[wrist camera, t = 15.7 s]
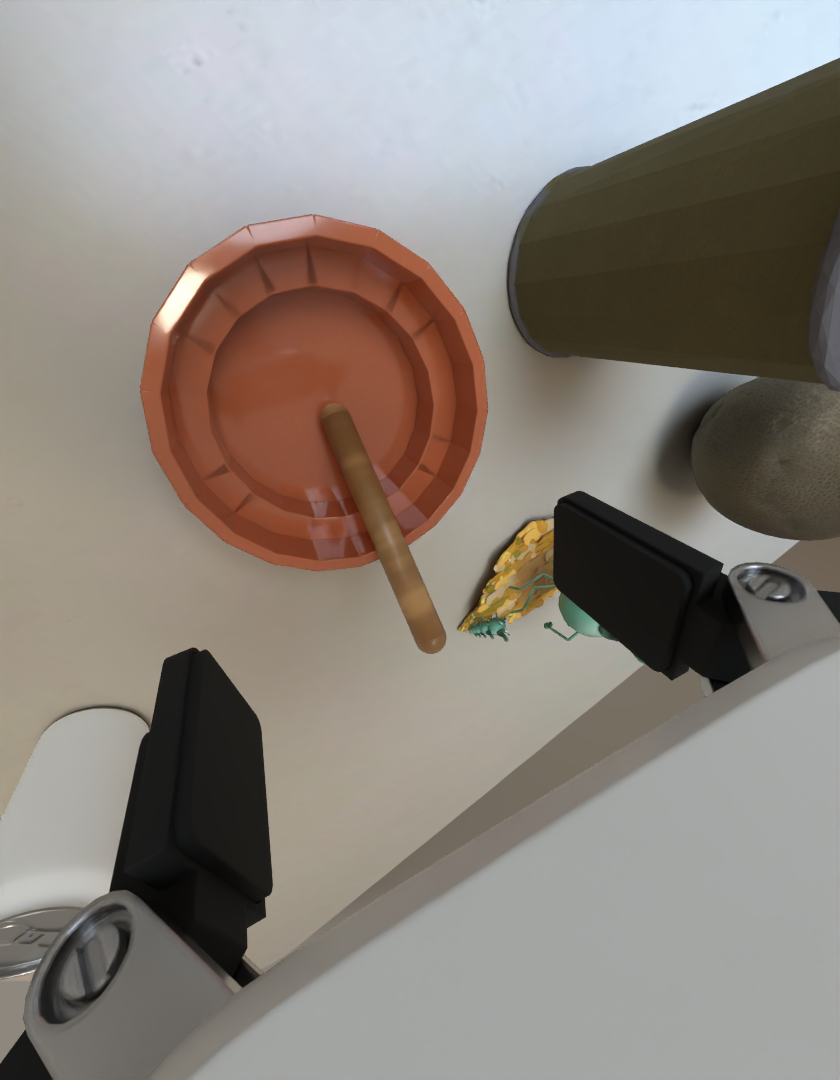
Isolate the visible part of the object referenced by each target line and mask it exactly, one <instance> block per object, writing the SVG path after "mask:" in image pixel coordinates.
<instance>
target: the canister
mask: <svg viewBox="0 0 840 1080" xmlns="http://www.w3.org/2000/svg"><path fill="white" fill-rule="evenodd" d="M509 298H510V306H511V311H512V313H513V316H514V318H515V321H516V324H517V326H518V328H519V329H520V331H521V332H522V334H523V335H524V337H525V338H526V340H527V342H528V343H529V344H530V345H531V346H533V347H534V348H535V349H537V350H538V351H540V352H541V353H543V354H545V355H547V356H552V357H569V356H581V357H590V358H598V359H607V360H616V361H625V362H634V363H643V364H651V365H660V366H669V367H678V368H687V369H695V370H704V371H713V372H722V373H731V374H739V375H748V376H757V377H766V378H775V379H784V380H792V381H801V382H810V383H819V384H825V385H826V386H827V387H828V388H829V390H832V391H837V392H840V58H838V59H836V60H834V61H831V62H829V63H827V64H825V65H822V66H820V67H818V68H815V69H813V70H811V71H808V72H806V73H804V74H802V75H799V76H797V77H795V78H792V79H790V80H788V81H786V82H783V83H781V84H779V85H776V86H774V87H772V88H769V89H767V90H765V91H763V92H760V93H758V94H756V95H753V96H751V97H749V98H747V99H744V100H742V101H740V102H737V103H735V104H733V105H730V106H728V107H726V108H724V109H721V110H719V111H717V112H714V113H712V114H710V115H708V116H705V117H703V118H701V119H698V120H696V121H694V122H691V123H689V124H687V125H685V126H682V127H680V128H678V129H675V130H673V131H671V132H669V133H666V134H664V135H662V136H659V137H657V138H655V139H652V140H650V141H648V142H646V143H643V144H641V145H639V146H636V147H634V148H632V149H629V150H627V151H625V152H623V153H620V154H618V155H616V156H613V157H611V158H609V159H607V160H604V161H602V162H600V163H597V164H595V165H593V166H585V167H576V168H573V169H570V170H567V171H566V172H564V173H562V174H560V175H559V176H557V177H555V178H554V179H553V180H551V181H550V182H549V183H548V184H547V186H546V187H545V188H544V189H543V190H542V191H541V193H540V194H539V195H538V196H537V197H536V199H535V200H534V201H533V202H532V204H531V205H530V206H529V208H528V209H527V211H526V213H525V215H524V217H523V219H522V221H521V223H520V225H519V227H518V230H517V234H516V238H515V241H514V245H513V249H512V252H511V256H510V260H509Z"/></svg>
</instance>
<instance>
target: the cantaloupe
mask: <svg viewBox="0 0 840 1080" xmlns="http://www.w3.org/2000/svg"><path fill="white" fill-rule="evenodd" d="M691 461H692V469H693V473H694V477H695V480H696V483H697V486H698V488H699V490H700V492H701V493H702V494H703V496H704V497H705V499H706V500H707V501H708V503H709V504H710V505H711V506H712V507H713V508H714V509H715V510H717V511H718V512H719V513H721V514H722V515H723V516H725V517H726V518H728V519H729V520H731V521H733V522H735V523H736V524H739V525H741V526H743V527H745V528H748V529H750V530H753V531H756V532H759V533H762V534H765V535H770V536H774V537H778V538H784V539H792V540H809V541H810V540H824V539H830V538H836V537H840V392H837V391H832V390H829V388H828V387H827V386H826V385H825V384H819V383H810V382H801V381H792V380H784V379H775V378H766V377H759V378H756V379H754V380H752V381H750V382H747V383H745V384H742V385H740V386H738V387H736V388H734V389H733V390H731V391H729V392H728V393H727V394H725V395H724V396H723V397H722V398H721V399H719V400H718V401H717V402H716V403H714V404H713V405H712V406H711V408H710V409H709V410H708V411H707V413H706V414H705V416H704V417H703V419H702V421H701V424H700V426H699V428H698V430H697V431H696V433H695V435H694V438H693V441H692V451H691Z"/></svg>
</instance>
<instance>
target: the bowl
mask: <svg viewBox="0 0 840 1080" xmlns="http://www.w3.org/2000/svg"><path fill="white" fill-rule="evenodd" d="M140 389H141V390H140V393H141V398H142V403H143V408H144V413H145V418H146V423H147V428H148V433H149V438H150V443H151V448H152V452H153V453H154V456H155V458H156V459H157V461H158V463H159V465H160V466H161V468H162V470H163V471H164V473H165V475H166V476H167V478H168V480H169V481H170V483H171V485H172V487H173V488H174V490H175V492H176V493H177V495H178V497H179V498H180V500H181V502H182V503H183V504H184V506H185V507H186V508H187V509H188V510H190V511H191V512H192V513H193V514H194V515H195V516H196V517H197V518H199V519H200V520H201V521H202V522H203V523H204V524H205V525H206V526H208V527H209V528H210V529H211V530H212V531H213V532H214V533H215V534H216V535H218V536H219V537H220V538H221V539H222V540H223V541H226V543H228V544H230V545H232V546H234V547H237V548H239V549H241V550H243V551H245V552H247V553H249V554H252V555H254V556H256V557H258V558H260V559H262V560H264V561H267V562H269V563H271V564H276V565H282V566H288V567H294V568H301V569H307V570H313V571H324V570H334V569H343V568H352V567H361V566H363V565H366V564H368V563H371V562H373V561H376V560H378V559H379V556H378V554H377V552H376V549H375V547H374V545H373V543H372V540H371V538H370V536H369V533H368V531H367V529H366V526H365V524H364V522H363V519H362V517H361V515H360V512H359V510H358V508H357V506H356V503H355V501H354V499H353V496H352V494H351V492H350V489H349V487H348V485H347V482H346V480H345V478H344V475H343V473H342V471H341V468H340V466H339V464H338V462H337V459H336V457H335V455H334V452H333V450H332V448H331V445H330V443H329V441H328V438H327V436H326V434H325V431H324V429H323V427H322V425H321V421H320V414H321V411H322V410H323V408H324V407H325V406H326V405H328V404H331V403H338V404H341V405H343V406H344V407H346V408H347V410H348V411H349V413H350V415H351V417H352V420H353V422H354V424H355V427H356V429H357V431H358V433H359V436H360V438H361V440H362V443H363V445H364V447H365V449H366V452H367V454H368V456H369V459H370V461H371V463H372V465H373V468H374V470H375V472H376V475H377V477H378V479H379V481H380V484H381V486H382V488H383V491H384V493H385V495H386V497H387V500H388V502H389V504H390V507H391V509H392V511H393V513H394V516H395V518H396V520H397V523H398V525H399V527H400V529H401V532H402V534H403V536H404V539H405V541H406V543H407V545H409V544H411V543H412V542H414V541H415V540H416V539H418V538H419V537H421V536H422V535H423V534H425V533H426V532H427V531H429V530H430V529H432V528H433V527H434V526H435V525H436V524H437V523H438V522H439V521H440V519H441V518H442V517H443V516H444V515H445V513H446V512H447V511H448V510H449V509H450V507H451V506H452V505H453V504H454V502H455V501H456V500H457V499H458V498H459V496H460V495H461V493H462V492H463V489H464V487H465V485H466V483H467V481H468V479H469V477H470V474H471V472H472V470H473V468H474V466H475V464H476V462H477V459H478V457H479V454H480V451H481V446H482V440H483V435H484V429H485V424H486V418H487V413H488V403H487V391H486V379H485V367H484V360H483V356H482V354H481V351H480V349H479V346H478V343H477V341H476V338H475V335H474V333H473V330H472V327H471V325H470V322H469V319H468V317H467V314H466V311H465V310H464V308H463V306H462V305H461V304H460V303H459V301H458V300H457V299H456V297H455V296H454V295H453V293H452V292H451V291H450V290H449V288H448V287H447V286H446V284H445V283H444V282H443V280H442V279H441V278H440V277H439V275H438V274H437V273H436V271H435V270H434V269H433V268H432V266H431V265H430V264H429V263H428V262H427V261H425V260H424V259H422V258H421V257H419V256H418V255H416V254H415V253H413V252H412V251H410V250H409V249H407V248H406V247H404V246H403V245H401V244H400V243H398V242H397V241H395V240H394V239H392V238H391V237H389V236H388V235H386V234H385V233H383V232H382V231H380V230H379V229H378V230H377V229H375V228H372V227H367V226H363V225H359V224H354V223H350V222H346V221H342V220H337V219H333V218H329V217H324V216H320V215H314V216H313V215H312V214H310V215H304V216H298V217H292V218H286V219H280V220H274V221H268V222H262V223H256V224H250V225H248V226H247V227H246V226H244V227H243V228H241V229H240V230H238V231H237V232H235V233H234V234H232V235H231V236H229V237H228V238H226V239H225V240H223V241H222V242H220V243H219V244H217V245H216V246H214V247H212V248H211V249H209V250H208V251H206V252H205V253H203V254H202V255H200V256H199V257H197V258H196V259H194V260H193V261H191V262H190V265H189V264H188V265H187V266H186V268H185V269H184V271H183V273H182V274H181V276H180V277H179V279H178V281H177V282H176V284H175V285H174V287H173V288H172V290H171V292H170V293H169V295H168V296H167V298H166V299H165V301H164V303H163V304H162V306H161V307H160V309H159V310H158V312H157V314H156V315H155V317H154V318H153V320H152V323H151V326H150V332H149V338H148V344H147V350H146V356H145V362H144V368H143V374H142V379H141V385H140Z"/></svg>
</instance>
